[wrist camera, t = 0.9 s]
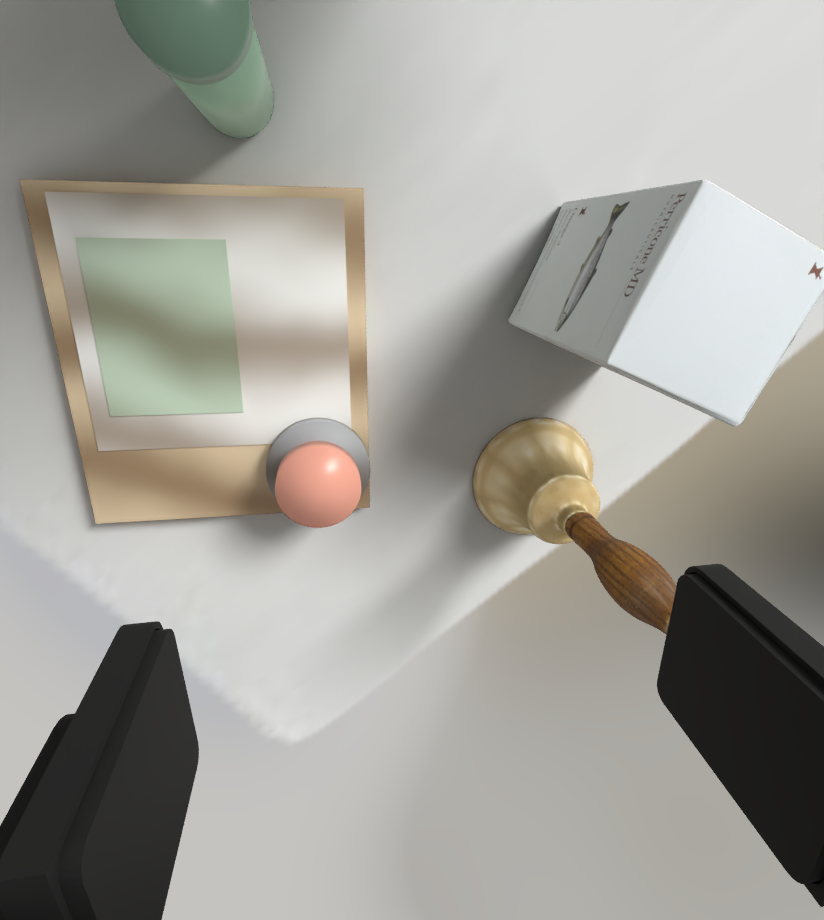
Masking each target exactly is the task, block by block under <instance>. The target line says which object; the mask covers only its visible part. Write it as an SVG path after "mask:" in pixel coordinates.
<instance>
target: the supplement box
mask: <svg viewBox="0 0 824 920" xmlns="http://www.w3.org/2000/svg"><path fill="white" fill-rule="evenodd" d="M823 292H824V249H822V248H820V247H818V246H817V245H815V244H813V243H811V242H810V241H808V240H806V239H805V238H803V237H801V236H799V235H798V234H796V233H794V232H792V231H791V230H789V229H787V228H786V227H784V226H783V225H781V224H779V223H778V222H776V221H774V220H773V219H771V218H769V217H768V216H766V215H765V214H763V213H761V212H760V211H758V210H756V209H755V208H753V207H751V206H750V205H748V204H746V203H745V202H743V201H741V200H740V199H738V198H737V197H735V196H733V195H732V194H730V193H729V192H727V191H725V190H723V189H722V188H720V187H718V186H717V185H715V184H713V183H711V182H709V181H708V180H699V181H692V182H687V183H681V184H674V185H668V186H662V187H656V188H649V189H643V190H636V191H631V192H625V193H619V194H612V195H607V196H601V197H594V198H588V199H581V200H577V201H569V202H565V203H563V205H562V207H561V209H560V212H559V214H558V217H557V219H556V221H555V224H554V226H553V228H552V231H551V233H550V235H549V238H548V240H547V242H546V244H545V246H544V249H543V251H542V253H541V255H540V257H539V259H538V261H537V263H536V266H535V268H534V270H533V272H532V274H531V276H530V278H529V280H528V282H527V284H526V286H525V288H524V290H523V292H522V294H521V296H520V298H519V300H518V302H517V304H516V306H515V308H514V310H513V312H512V314H511V316H510V317H509V320H508V322H509V323H510V324H511V325H513V326H515V327H517V328H520V329H522V330H524V331H526V332H528V333H530V334H533V335H535V336H537V337H539V338H541V339H543V340H545V341H547V342H549V343H552V344H554V345H556V346H558V347H560V348H563V349H565V350H567V351H569V352H571V353H574V354H576V355H578V356H580V357H583V358H585V359H587V360H589V361H591V362H593V363H596V364H598V365H600V366H602V367H605V368H607V369H609V370H611V371H614V372H616V373H618V374H620V375H623V376H625V377H627V378H629V379H631V380H634V381H636V382H638V383H640V384H642V385H645V386H647V387H649V388H651V389H653V390H656V391H658V392H660V393H662V394H664V395H666V396H669V397H671V398H673V399H675V400H677V401H680V402H682V403H684V404H686V405H688V406H690V407H693V408H695V409H697V410H699V411H701V412H703V413H706V414H708V415H710V416H712V417H714V418H716V419H719V420H721V421H723V422H725V423H727V424H729V425H731V426H738V425H739V424H740V423H741V422H742V421H743V420H744V418H745V417H746V414H747V413H748V412H749V410H750V409H751V407H752V406H753V404H754V402H755V400H756V399H757V397H758V395H759V394H760V392H761V391H762V389H763V387H764V386H765V384H766V383H767V381H768V380H769V378H770V376H771V375H772V373H773V372H774V370H775V368H776V367H777V365H778V364H779V362H780V360H781V359H782V357H783V356H784V354H785V352H786V351H787V350H788V349H789V347H790V345H791V344H792V342H793V341H794V339H795V337H796V335H797V333H798V332H799V330H800V329H801V327H802V325H803V324H804V322H805V321H806V319H807V317H808V316H809V314H810V313H811V311H812V309H813V308H814V306H815V305H816V303H817V301H818V300H819V298H820V297H821V295H822V294H823Z"/></svg>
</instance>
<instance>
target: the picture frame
mask: <svg viewBox="0 0 824 920" xmlns="http://www.w3.org/2000/svg"><path fill="white" fill-rule="evenodd" d="M20 183H21V188H22V192H23V197H24V201H25V206H26V211H27V215H28V220H29V224H30V229H31V233H32V238H33V242H34V247H35V251H36V256H37V260H38V265H39V269H40V274H41V278H42V283H43V287H44V292H45V296H46V301H47V305H48V310H49V314H50V319H51V323H52V328H53V332H54V337H55V341H56V346H57V350H58V355H59V359H60V364H61V369H62V373H63V378H64V382H65V387H66V391H67V396H68V400H69V405H70V409H71V414H72V418H73V423H74V427H75V432H76V436H77V441H78V445H79V450H80V454H81V459H82V463H83V468H84V472H85V477H86V481H87V486H88V490H89V495H90V499H91V504H92V508H93V513H94V517H95V522H96V524H100V523H117V522H134V521H151V520H167V519H184V518H201V517H218V516H235V515H251V514H268V513H284V512H283V511H282V510H281V508H280V507H279V505H278V502H277V500H276V496H275V482H276V476H277V471H278V468H279V465H280V463H281V461H282V460H283V458H284V457H285V456H286V454H287V453H288V452H290V451H291V450H292V449H293V448H295V447H297V446H298V445H300V444H303V443H306V442H311V441H326V442H330V443H334V444H336V445H338V446H340V447H342V448H343V449H345V450H346V451H347V452H348V453H349V454H350V455H351V456H352V457H353V459H354V460H355V462H356V464H357V466H358V470H359V474H360V480H361V496H360V500H359V502H358V504H357V506H356V508H369V507H370V495H369V477H370V462H369V445H368V396H367V346H366V297H365V247H364V198H363V188H329V187H291V186H253V185H215V184H177V183H139V182H101V181H63V180H25V179H20Z"/></svg>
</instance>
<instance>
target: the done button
mask: <svg viewBox="0 0 824 920" xmlns="http://www.w3.org/2000/svg"><path fill="white" fill-rule="evenodd" d="M275 496H276V500H277V502H278V505H279V507H280V508H281V510H282V511H283V512H284V513H285V515H286V516H288V517H289V518H290V519H291V520H293V521H294V522H296V523H298V524H301V525H304V526H307V527H314V528H322V527H328V526H332V525H335V524H337V523H339V522H341V521H343V520H344V519H346V518H347V517H348V516H349V515H350V514H351V513H352V512H353V511H354V509H355V508H356V506H357V504H358V502H359V500H360V496H361V480H360V474H359V470H358V466H357V464H356V462H355V460H354V459H353V457H352V456H351V455H350V454H349V453H348V452H347V451H346V450H345V449H343V448H342V447H340V446H338V445H336V444H334V443H330V442H326V441H311V442H306V443H303V444H300V445H298V446H297V447H295V448H293V449H292V450H291V451H290V452H288V453H287V454H286V456H285V457H284V458H283V460H282V461H281V463H280V465H279V468H278V471H277V476H276V482H275Z"/></svg>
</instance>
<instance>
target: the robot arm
mask: <svg viewBox="0 0 824 920" xmlns="http://www.w3.org/2000/svg"><path fill="white" fill-rule="evenodd" d="M657 688H658V693H659V695H660V698H661V700H662V702H663V703H664V705H665V706H666V707H667V709H668V710H669V711H670V713H671V714H672V715H673V717H674V718H675V720H676V721H677V722H678V724H679V725H680V727H681V728H682V729H683V730H684V732H685V733H686V735H687V736H688V737H689V739H690V740H691V741H692V743H693V744H694V746H695V747H696V748H697V750H698V751H699V752H700V754H701V755H702V757H703V758H704V759H705V761H706V762H707V763H708V765H709V766H710V767H711V769H712V770H713V772H714V773H715V774H716V775H717V777H718V778H719V780H720V781H721V782H722V784H723V785H724V786H725V788H726V789H727V791H728V792H729V793H730V795H731V796H732V797H733V799H734V800H735V801H736V803H737V804H738V806H739V807H740V808H741V810H742V811H743V813H744V814H745V815H746V816H747V818H748V819H749V821H750V822H751V823H752V825H753V826H754V828H755V829H756V830H757V832H758V833H759V834H760V836H761V837H762V838H763V840H764V841H765V843H766V844H767V845H768V847H769V848H770V849H771V851H772V852H773V853H774V855H775V856H776V858H777V859H778V860H779V862H780V863H781V864H782V866H783V867H784V868H785V870H786V871H787V872H788V874H789V875H790V876H791V877H792V878H793V879H794V880H796V881H797V882H799V883H801V884H804V885H805V886H806V888H807V889H808V890H809V892H810V893H811V894H812V895H813V897H814V898H815V900H816V901H817V902H818V904H819V905H820V906H821V907H823V906H824V647H823V646H822V645H821V644H820V643H818V642H817V641H816V640H815V639H814V638H812V637H811V636H810V635H809V634H807V633H806V632H805V631H804V630H802V629H801V628H800V627H799V626H797V625H796V624H795V623H794V622H793V621H791V620H790V619H789V618H788V617H787V616H785V615H784V614H783V613H782V612H780V611H779V610H778V609H777V608H776V607H774V606H773V605H772V604H771V603H769V602H768V601H767V600H766V599H764V598H763V597H762V596H761V595H760V594H758V593H757V592H756V591H755V590H754V589H752V588H751V587H750V586H749V585H747V584H746V583H745V582H744V581H742V580H741V579H740V578H739V577H737V576H736V575H735V574H734V573H733V572H732V571H730V570H729V569H728V568H727V567H725V566H723V565H721V564H711V565H701V566H692V567H689V568H688V569H687V570H686V571H685V574H684V575H682V576H681V577H680V578H679V579H678V582H677V587H676V591H675V596H674V601H673V606H672V611H671V616H670V621H669V626H668V631H667V636H666V640H665V646H664V651H663V655H662V660H661V665H660V670H659V675H658V680H657ZM198 755H199V747H198V740H197V735H196V731H195V726H194V722H193V717H192V713H191V708H190V704H189V699H188V695H187V690H186V685H185V680H184V676H183V671H182V667H181V662H180V658H179V653H178V649H177V644H176V639H175V635H174V632H173V630H172V629H164V630H163V628H162V625H161V624H160V622H147V623H137V624H127V625H123V626H121V627H120V629H119V630H118V632H117V634H116V635H115V637H114V639H113V641H112V643H111V645H110V647H109V649H108V651H107V653H106V655H105V657H104V659H103V661H102V663H101V664H100V667H99V668H98V670H97V672H96V674H95V676H94V678H93V680H92V682H91V684H90V686H89V688H88V690H87V692H86V693H85V695H84V697H83V699H82V701H81V703H80V705H79V707H78V709H77V711H76V713H75V714H68V715H65V716H64V717H62V718H61V719H60V720H59V721H58V723H57V724H56V726H55V727H54V728H53V730H52V732H51V734H50V736H49V738H48V740H47V742H46V743H45V745H44V747H43V749H42V750H41V752H40V754H39V756H38V758H37V760H36V761H35V763H34V765H33V767H32V769H31V771H30V772H29V774H28V776H27V778H26V780H25V782H24V784H23V785H22V787H21V789H20V791H19V793H18V794H17V796H16V798H15V800H14V802H13V804H12V805H11V807H10V809H9V811H8V813H7V815H6V817H5V818H4V820H3V822H2V824H1V826H0V920H161V919H162V915H163V911H164V906H165V902H166V898H167V894H168V889H169V885H170V881H171V877H172V872H173V868H174V864H175V860H176V855H177V850H178V847H179V842H180V838H181V834H182V829H183V825H184V821H185V817H186V812H187V808H188V804H189V800H190V795H191V791H192V787H193V782H194V778H195V774H196V770H197V765H198V757H199V756H198Z"/></svg>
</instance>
